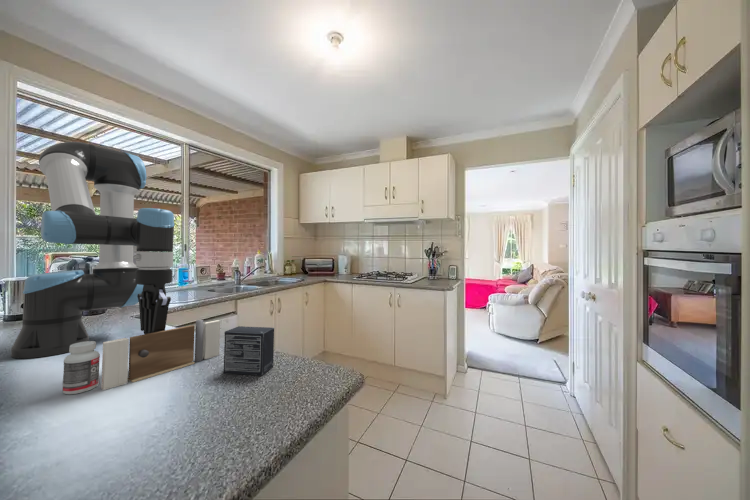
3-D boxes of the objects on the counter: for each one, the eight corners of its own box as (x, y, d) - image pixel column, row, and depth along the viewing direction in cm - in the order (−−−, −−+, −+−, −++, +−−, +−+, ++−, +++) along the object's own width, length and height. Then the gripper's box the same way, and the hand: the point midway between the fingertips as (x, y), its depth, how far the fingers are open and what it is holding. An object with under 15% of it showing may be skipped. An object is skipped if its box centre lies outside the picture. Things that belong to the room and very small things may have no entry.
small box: (274, 366, 74) (275, 326, 75) (262, 376, 68) (263, 333, 68) (237, 363, 76) (238, 324, 76) (222, 373, 69) (223, 331, 69)
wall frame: (100, 387, 61) (101, 337, 61) (214, 353, 82) (216, 316, 83) (105, 391, 59) (106, 339, 60) (220, 355, 81) (221, 317, 81)
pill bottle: (98, 389, 60) (100, 344, 60) (60, 398, 56) (62, 349, 56) (99, 381, 64) (100, 338, 64) (64, 388, 60) (65, 343, 60)
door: (128, 378, 64) (129, 337, 64) (191, 360, 76) (192, 325, 76) (132, 381, 63) (134, 339, 63) (195, 361, 75) (196, 326, 75)
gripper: (126, 267, 72) (122, 359, 72) (148, 270, 66) (145, 370, 65) (159, 267, 79) (157, 350, 78) (183, 269, 72) (180, 360, 72)
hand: (151, 359), depth 72 cm, fingers closed
